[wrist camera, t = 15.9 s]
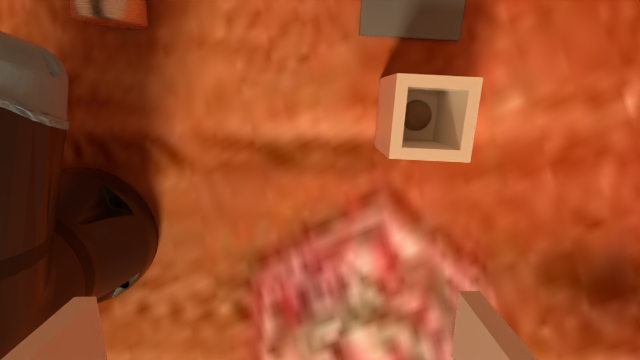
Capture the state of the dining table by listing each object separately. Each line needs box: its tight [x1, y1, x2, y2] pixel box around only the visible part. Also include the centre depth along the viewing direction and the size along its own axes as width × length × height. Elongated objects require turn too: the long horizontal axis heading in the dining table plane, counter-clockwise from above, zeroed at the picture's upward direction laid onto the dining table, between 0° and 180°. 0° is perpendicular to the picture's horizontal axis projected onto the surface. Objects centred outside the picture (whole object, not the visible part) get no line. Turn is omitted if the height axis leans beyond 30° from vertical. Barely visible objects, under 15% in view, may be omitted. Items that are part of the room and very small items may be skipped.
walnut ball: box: [404, 100, 432, 131], centre depth 34 cm, size 3×3×3 cm
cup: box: [374, 73, 483, 162], centre depth 33 cm, size 7×7×8 cm
